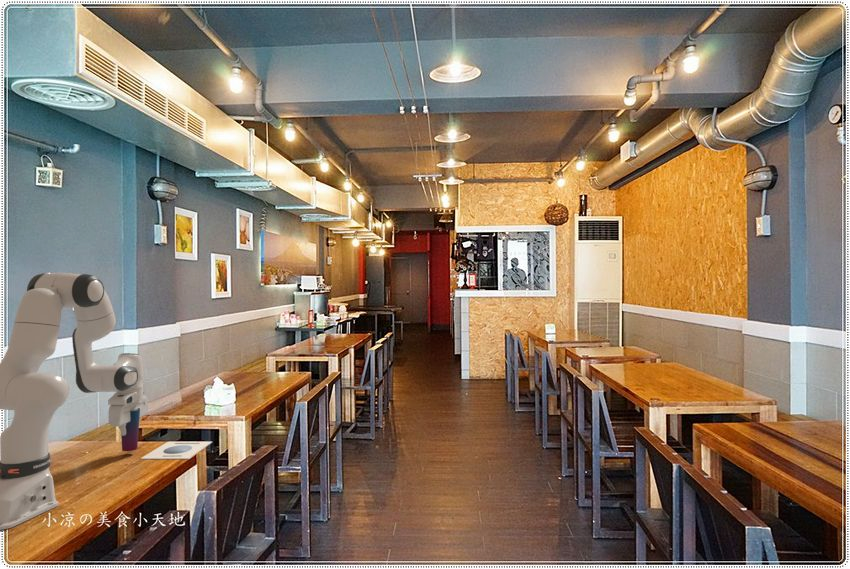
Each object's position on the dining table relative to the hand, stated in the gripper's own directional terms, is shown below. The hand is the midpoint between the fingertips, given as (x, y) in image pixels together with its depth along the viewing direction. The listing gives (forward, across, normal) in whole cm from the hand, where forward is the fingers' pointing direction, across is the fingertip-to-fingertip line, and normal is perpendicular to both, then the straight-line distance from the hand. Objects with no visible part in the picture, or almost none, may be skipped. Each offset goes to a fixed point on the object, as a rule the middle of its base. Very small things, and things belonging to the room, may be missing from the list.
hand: (129, 432), depth 195 cm
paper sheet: (+8, -4, +16) cm, 19 cm away
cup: (+7, 0, 0) cm, 7 cm away
